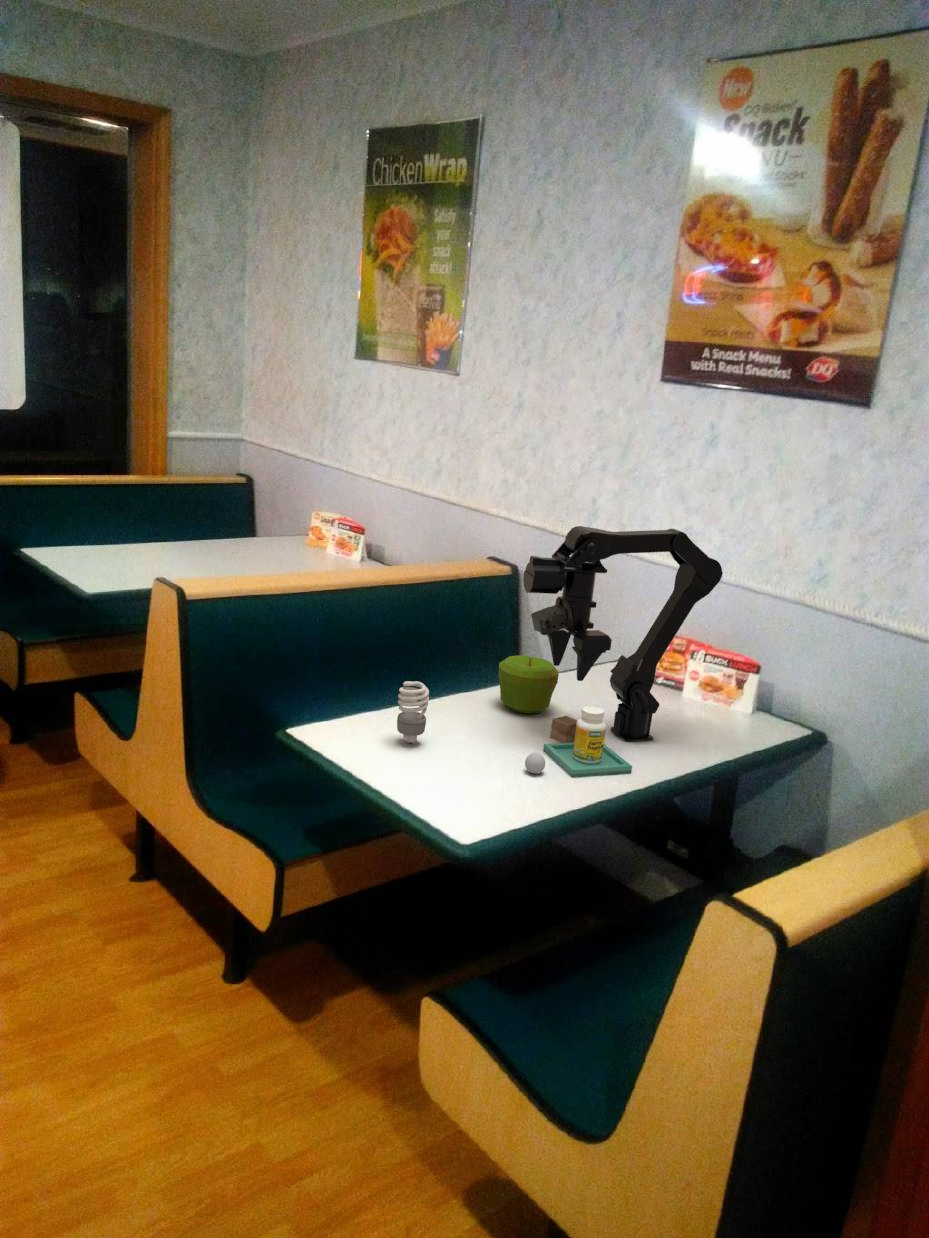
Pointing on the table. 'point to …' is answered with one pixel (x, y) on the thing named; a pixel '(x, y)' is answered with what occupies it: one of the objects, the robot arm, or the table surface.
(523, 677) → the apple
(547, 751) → the tray
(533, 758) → the grey ball
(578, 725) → the supplement bottle
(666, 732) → the table surface
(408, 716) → the light bulb
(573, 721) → the walnut cube
